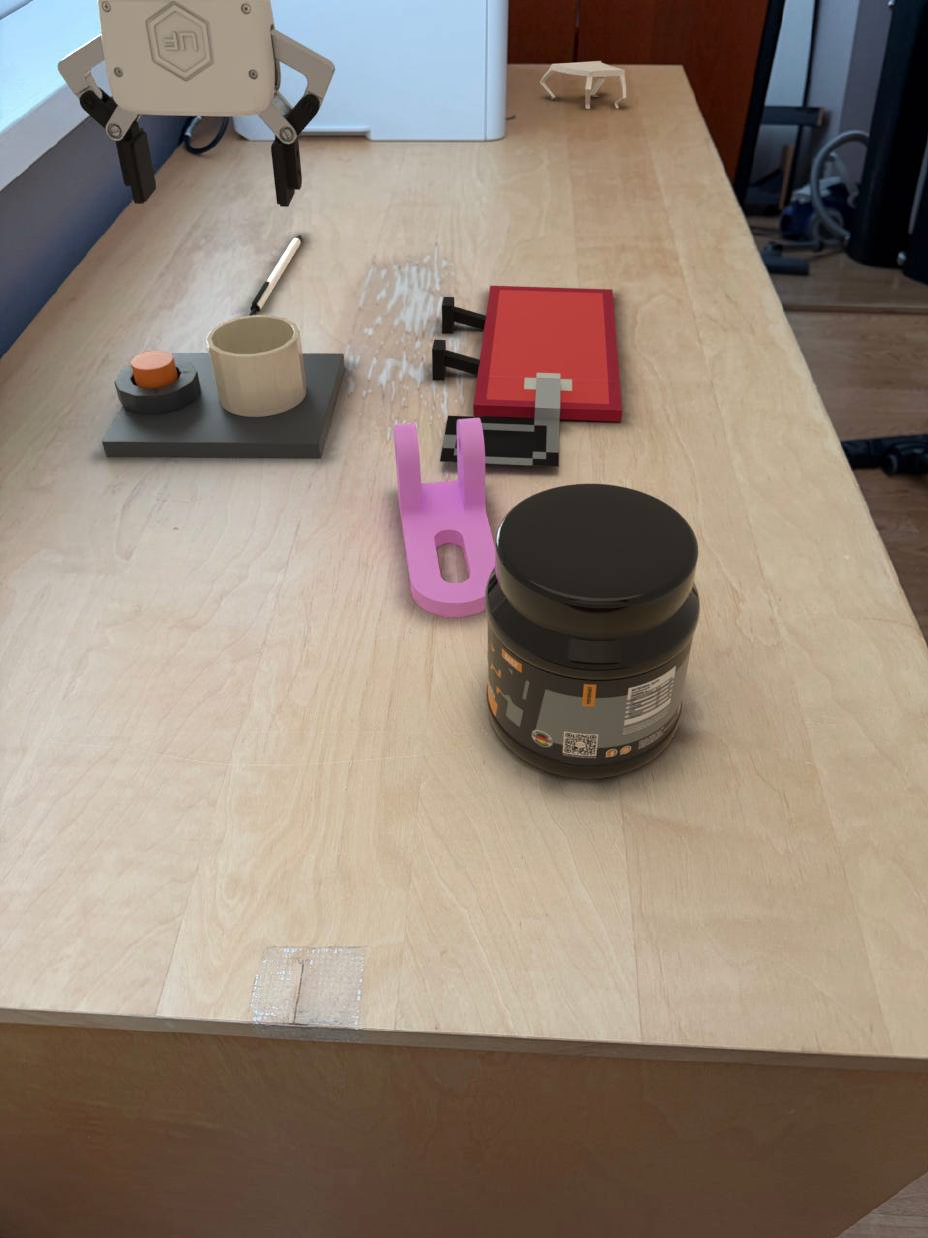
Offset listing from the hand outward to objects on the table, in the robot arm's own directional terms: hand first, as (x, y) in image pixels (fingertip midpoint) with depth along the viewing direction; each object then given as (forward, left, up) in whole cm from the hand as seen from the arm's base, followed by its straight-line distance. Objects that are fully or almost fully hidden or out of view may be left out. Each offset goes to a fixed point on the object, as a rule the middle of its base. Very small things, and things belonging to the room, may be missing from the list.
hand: (216, 198), depth 71 cm
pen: (-3, +26, -17) cm, 31 cm away
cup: (+1, 0, -15) cm, 15 cm away
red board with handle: (+21, +6, -17) cm, 28 cm away
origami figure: (+29, +84, -17) cm, 91 cm away
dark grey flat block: (-2, 0, -17) cm, 17 cm away
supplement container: (+24, -32, -17) cm, 43 cm away
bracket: (+16, -18, -17) cm, 29 cm away
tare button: (-7, 0, -14) cm, 16 cm away
